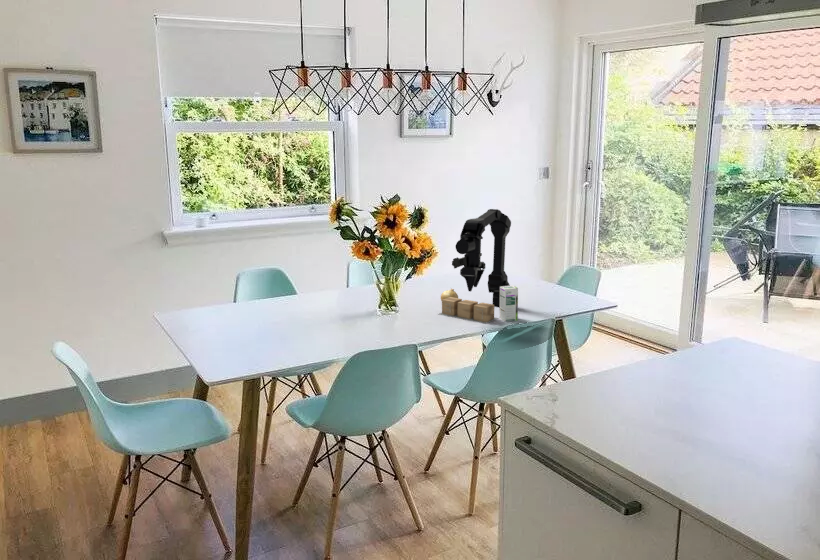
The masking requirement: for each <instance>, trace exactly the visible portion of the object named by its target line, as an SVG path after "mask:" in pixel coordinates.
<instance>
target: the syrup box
mask: <svg viewBox="0 0 820 560" xmlns="http://www.w3.org/2000/svg"><path fill="white" fill-rule="evenodd" d="M518 309H519V288H518V287H517V286H516V285H510V286H500V308H499V319H500V320H502V321H503V322H516V321H518V320H519V319H518V318H519V316H518V315H519V310H518Z"/></svg>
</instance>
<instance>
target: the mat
mask: <svg viewBox="0 0 820 560" xmlns="http://www.w3.org/2000/svg"><path fill="white" fill-rule="evenodd" d="M438 315H439V316H443V317H449V318H454V319H458V320H465V321H470V322H475V323H479V324H485V325H486V324H488V323H491V322H494V321H496V320H498V319H500V317H495V316H494V319H493V320H490V321H488V322H483V321H477V320H474V317H473V318H471V319H467V318H462V317H458V314H457V315H455V316H452V315H447V314H442V312H439V313H437V316H438Z"/></svg>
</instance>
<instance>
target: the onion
mask: <svg viewBox="0 0 820 560" xmlns="http://www.w3.org/2000/svg"><path fill="white" fill-rule="evenodd" d="M449 297H453V298H459V295H458V293H457V292H456V291H455V289H454V288H450V289H447V290H444V291H443V292H442V293H441V295H440V301H441V302H442V300H443V299H446V298H449Z"/></svg>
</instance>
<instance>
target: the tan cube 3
mask: <svg viewBox="0 0 820 560" xmlns="http://www.w3.org/2000/svg"><path fill="white" fill-rule="evenodd" d="M461 301H463V299H462V298H459V297H458V298H453V297H449V298H446V299H443V300H442V301H441V313H442V314H447V315H452V316H455V315H457V314H458V302H461Z"/></svg>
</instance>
